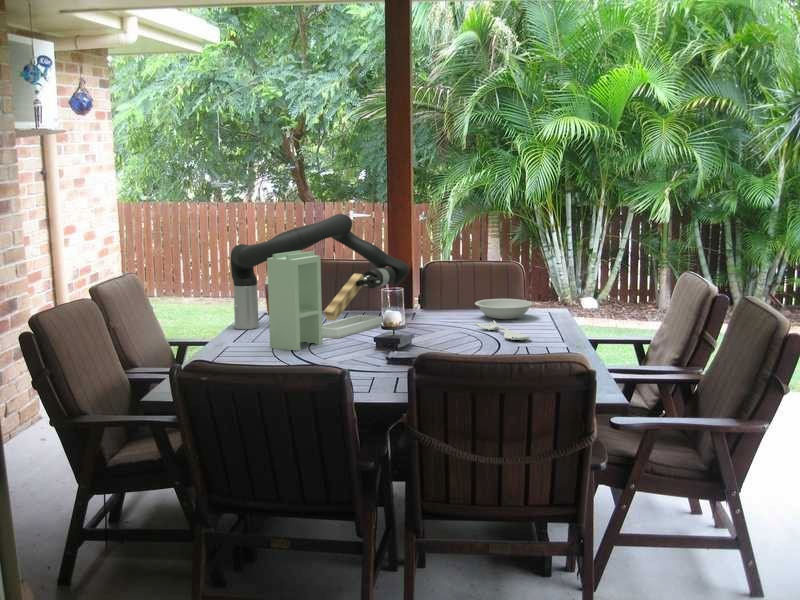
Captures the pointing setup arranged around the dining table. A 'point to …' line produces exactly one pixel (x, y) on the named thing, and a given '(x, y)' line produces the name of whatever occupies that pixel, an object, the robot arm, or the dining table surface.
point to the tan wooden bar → (343, 298)
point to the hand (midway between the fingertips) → (352, 283)
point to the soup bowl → (504, 308)
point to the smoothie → (267, 294)
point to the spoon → (508, 333)
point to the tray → (350, 326)
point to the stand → (294, 299)
